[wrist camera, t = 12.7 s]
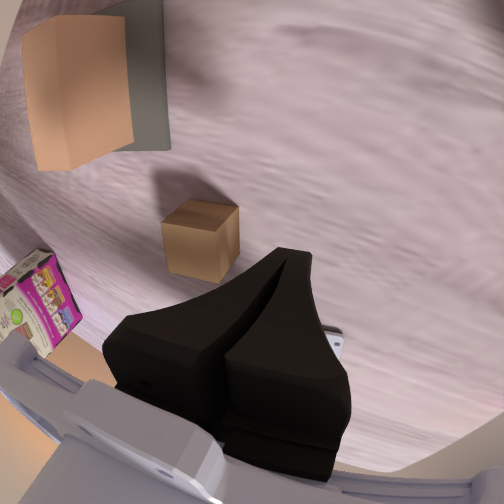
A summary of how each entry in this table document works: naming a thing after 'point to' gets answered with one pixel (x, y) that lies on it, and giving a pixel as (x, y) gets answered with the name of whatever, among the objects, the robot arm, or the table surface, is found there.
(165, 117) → the mat
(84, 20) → the block
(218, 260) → the brown cube
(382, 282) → the table surface
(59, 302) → the candy bar box
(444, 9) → the table surface
